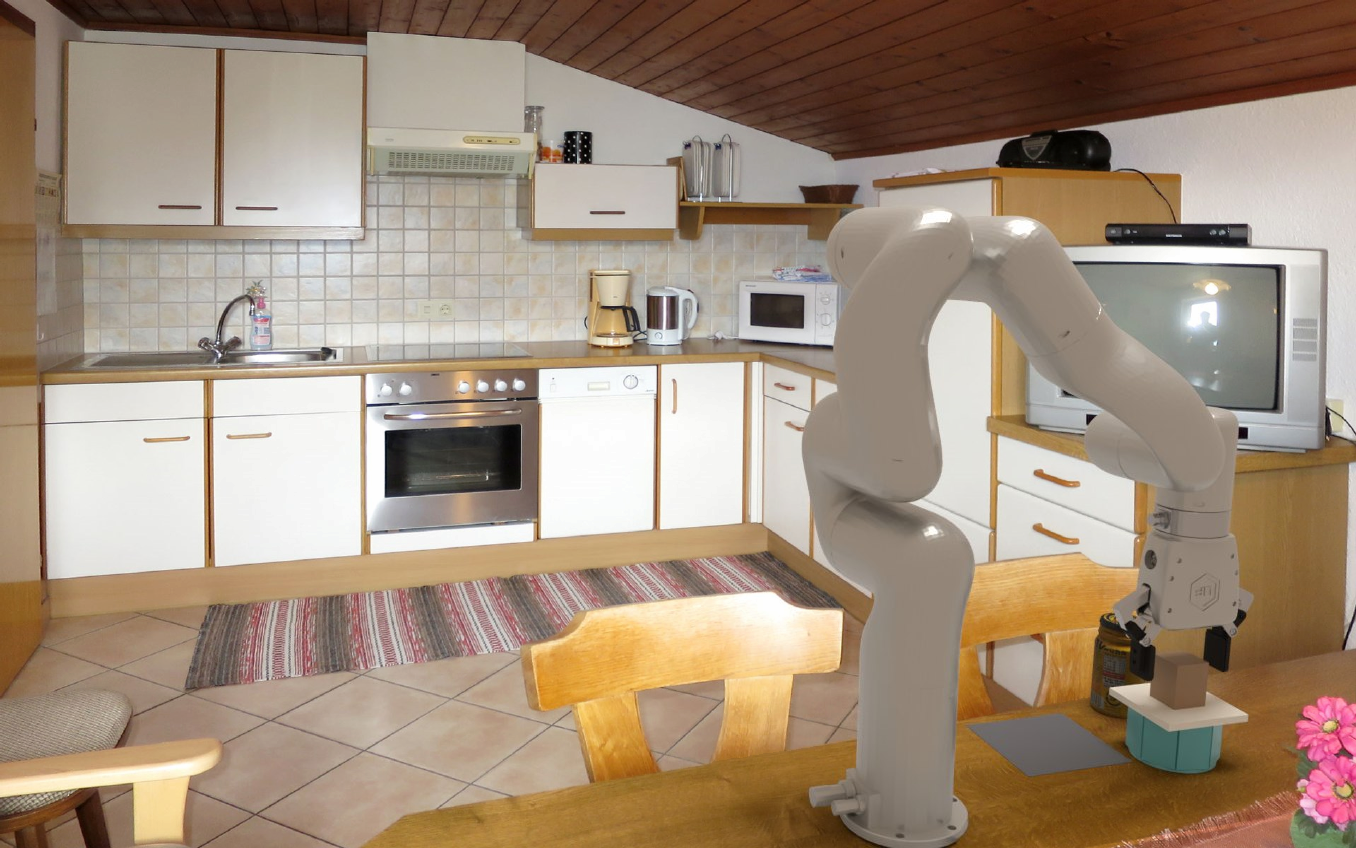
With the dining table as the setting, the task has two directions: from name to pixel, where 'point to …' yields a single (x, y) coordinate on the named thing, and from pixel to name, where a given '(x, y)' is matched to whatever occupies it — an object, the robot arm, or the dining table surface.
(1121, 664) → the condiment
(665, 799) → the dining table surface
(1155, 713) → the lid
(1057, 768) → the mat
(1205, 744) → the bowl
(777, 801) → the dining table surface
